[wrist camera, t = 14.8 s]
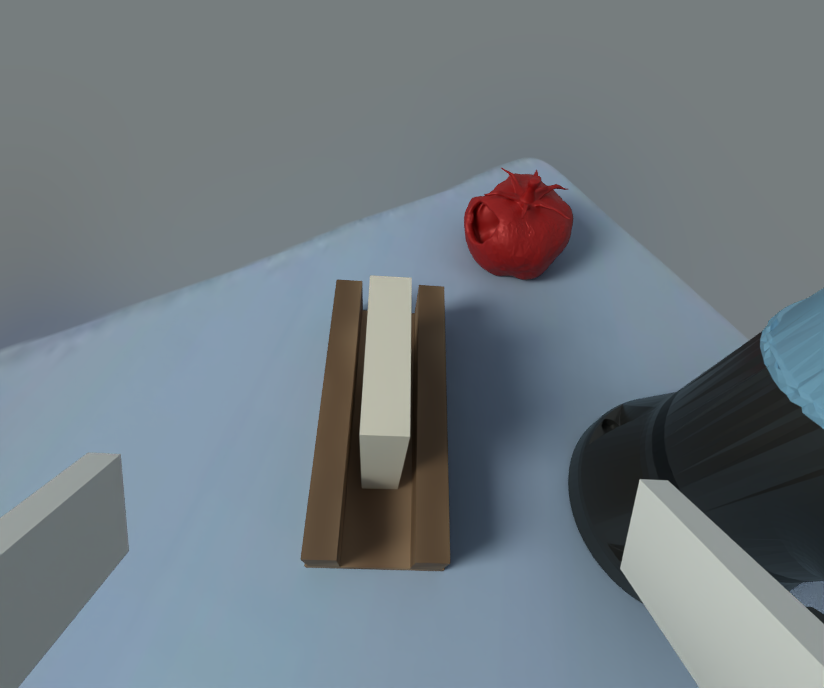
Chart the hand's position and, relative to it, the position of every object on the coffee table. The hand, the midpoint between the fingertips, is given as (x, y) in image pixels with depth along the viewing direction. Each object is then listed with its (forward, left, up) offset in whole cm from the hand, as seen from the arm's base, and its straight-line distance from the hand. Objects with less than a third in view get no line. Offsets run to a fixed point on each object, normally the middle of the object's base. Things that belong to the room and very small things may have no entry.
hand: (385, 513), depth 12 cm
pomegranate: (-11, -29, -22) cm, 38 cm away
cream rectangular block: (0, -10, -21) cm, 23 cm away
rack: (0, -10, -22) cm, 24 cm away
